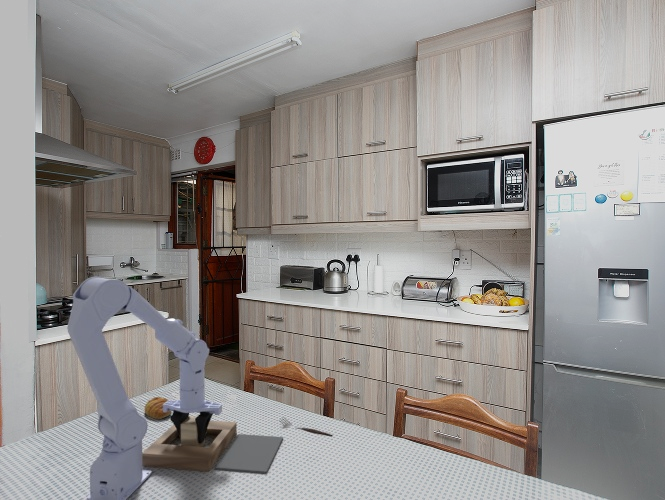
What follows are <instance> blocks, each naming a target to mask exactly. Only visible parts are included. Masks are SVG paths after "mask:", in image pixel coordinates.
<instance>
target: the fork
mask: <svg viewBox="0 0 665 500" xmlns="http://www.w3.org/2000/svg"><path fill="white" fill-rule="evenodd" d="M278 421H279V422H280V423H281V425H282V426H284V427H285V428H286V429H289V428H290V427H291V426H293V423H292V422H290V421H289V420H288V419H286V417H284V416H282V417H281V418H279V419H278ZM294 429H299V430H303V431H306V432H309V433H312V434H316V435H317V434H319V435H322V436H323V435H324V436H328V437H333V436H334V435H333V434H331V433H328V432H324V431H322V430H321V431H320V430H318V429H314V428H309V427H307V428H306V427H301V426H296V427H294Z"/></svg>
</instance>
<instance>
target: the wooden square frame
mask: <svg viewBox="0 0 665 500" xmlns="http://www.w3.org/2000/svg"><path fill="white" fill-rule="evenodd" d="M237 427H238V426H237V421H222V420H210V422H209V425H208V428H207V431H206V434H211V435H217V436H216V437H215V438H214V440H213V441H212V443H210V445H208V446H206V447H205V446H203V447H195V446H181V444H179V445H178V444H171V443H172V442H173V441H174V440H175V439H176V438H177V437H179V434H178V431H177V429H176V427H175V425H174V424H173V425H171V426H170V427H169V428H168V429H167V430H166V431H165V432H164V433H162V435H161V436H159V437H158V438H157V439H156V440H155V441H154V442H153V443H151V444H150V445H149V446H148V447H147V448H146V449H145V450H144V451H142V463H143V467H147V468H149V467H150V468H159V469H170V470H171V469H175V470H184V471H196V472H209V471H210V470H211V469H212V467H213V466H214V464H215V463H216V462H217V461H218V460H219V458H220V457H221V456H222V454H223V453H224V452H225V450H226V449H227V447H228V446H229V444H230V443H231V442H232V440H233V439H234V438H235V436H237V430H238V428H237Z"/></svg>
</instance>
